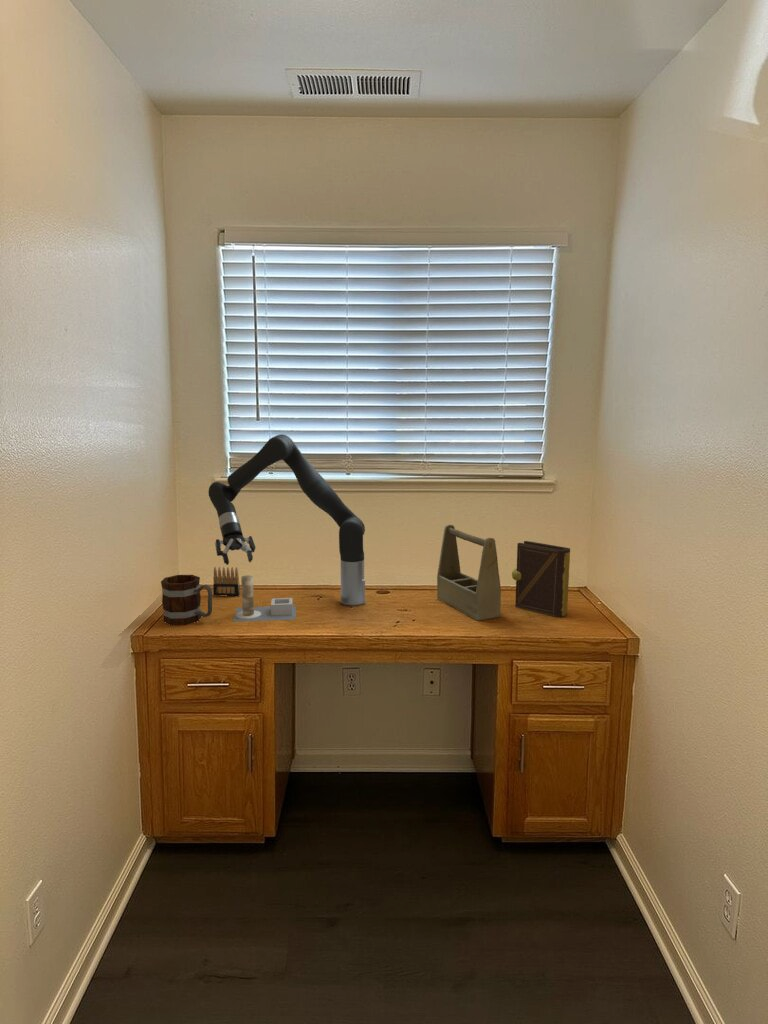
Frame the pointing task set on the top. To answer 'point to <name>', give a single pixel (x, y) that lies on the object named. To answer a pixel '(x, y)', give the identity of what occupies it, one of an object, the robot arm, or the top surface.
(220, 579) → the ammunition clip
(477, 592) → the caddy
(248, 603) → the peg
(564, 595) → the book
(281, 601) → the board
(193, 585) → the mug
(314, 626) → the top surface
